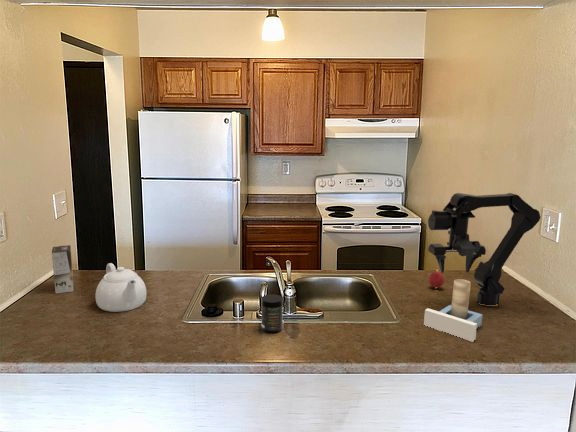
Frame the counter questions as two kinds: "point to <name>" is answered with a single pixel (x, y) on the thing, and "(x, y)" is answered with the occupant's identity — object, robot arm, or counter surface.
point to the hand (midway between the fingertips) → (454, 272)
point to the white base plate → (450, 324)
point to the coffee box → (62, 269)
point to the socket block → (470, 316)
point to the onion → (436, 279)
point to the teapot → (120, 290)
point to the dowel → (460, 298)
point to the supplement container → (272, 313)
